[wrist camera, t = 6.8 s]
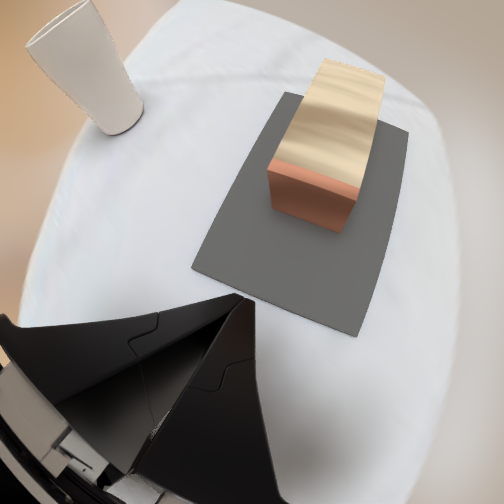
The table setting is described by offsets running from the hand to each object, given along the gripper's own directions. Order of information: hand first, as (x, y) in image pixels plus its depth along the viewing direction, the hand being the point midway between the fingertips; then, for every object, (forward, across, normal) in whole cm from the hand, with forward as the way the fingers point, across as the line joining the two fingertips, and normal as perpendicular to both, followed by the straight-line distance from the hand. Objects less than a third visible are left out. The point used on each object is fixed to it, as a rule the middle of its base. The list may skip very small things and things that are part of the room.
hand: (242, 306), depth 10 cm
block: (+9, 0, +2) cm, 9 cm away
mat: (+13, 0, +2) cm, 13 cm away
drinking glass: (+15, -21, +3) cm, 26 cm away
